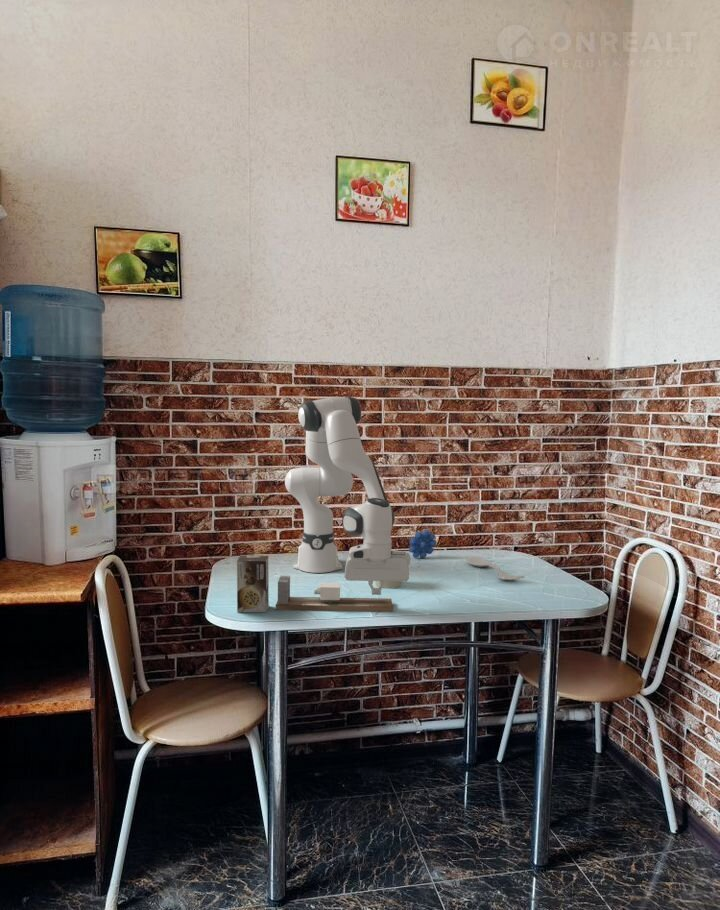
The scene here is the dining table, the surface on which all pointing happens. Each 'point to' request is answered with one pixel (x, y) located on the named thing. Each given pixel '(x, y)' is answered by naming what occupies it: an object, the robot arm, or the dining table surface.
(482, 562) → the spoon
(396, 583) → the can
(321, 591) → the block
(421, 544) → the grapes
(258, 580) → the coffee box
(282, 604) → the gauge base
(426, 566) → the dining table surface
